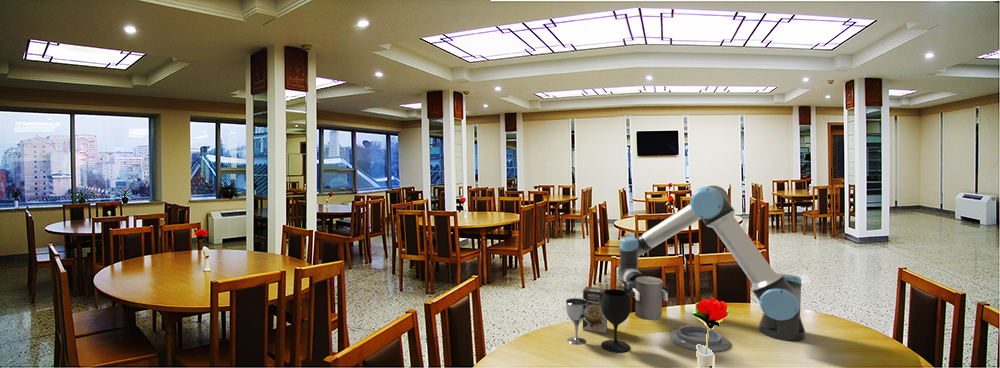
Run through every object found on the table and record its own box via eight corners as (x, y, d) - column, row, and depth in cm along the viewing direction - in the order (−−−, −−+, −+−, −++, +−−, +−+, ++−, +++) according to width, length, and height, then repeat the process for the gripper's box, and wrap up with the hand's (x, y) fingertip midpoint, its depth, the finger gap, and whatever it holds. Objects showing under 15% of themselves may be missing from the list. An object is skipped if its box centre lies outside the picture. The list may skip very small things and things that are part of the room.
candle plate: (720, 332, 176) (720, 325, 175) (736, 354, 156) (736, 346, 156) (666, 328, 179) (666, 321, 179) (675, 349, 160) (676, 342, 160)
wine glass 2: (631, 354, 157) (632, 297, 155) (601, 351, 159) (601, 296, 158) (629, 341, 167) (629, 289, 166) (600, 339, 169) (600, 287, 168)
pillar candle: (629, 313, 170) (629, 274, 169) (649, 309, 174) (650, 271, 173) (647, 322, 162) (648, 281, 160) (668, 318, 165) (668, 278, 164)
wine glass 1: (589, 338, 170) (589, 299, 169) (584, 346, 163) (584, 306, 162) (569, 335, 174) (569, 297, 173) (563, 342, 167) (563, 303, 166)
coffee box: (582, 330, 179) (582, 290, 178) (585, 324, 185) (585, 285, 184) (605, 333, 175) (605, 292, 174) (607, 327, 181) (608, 288, 180)
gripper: (661, 289, 185) (683, 307, 163) (608, 289, 186) (621, 307, 163) (662, 271, 185) (683, 286, 162) (608, 271, 185) (622, 287, 163)
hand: (652, 297), depth 163 cm, fingers closed on pillar candle, 9 cm apart
